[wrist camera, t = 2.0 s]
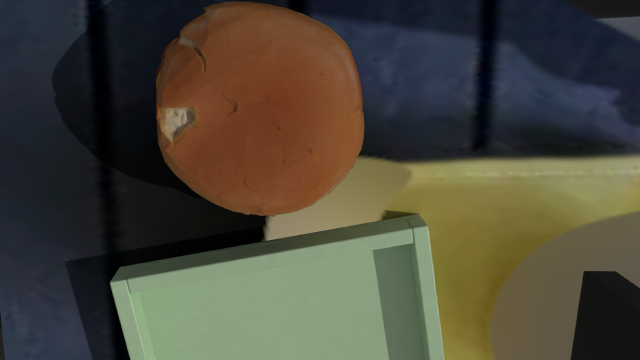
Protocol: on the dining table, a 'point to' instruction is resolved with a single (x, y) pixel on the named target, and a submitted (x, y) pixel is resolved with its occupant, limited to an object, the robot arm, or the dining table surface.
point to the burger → (259, 108)
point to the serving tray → (289, 299)
